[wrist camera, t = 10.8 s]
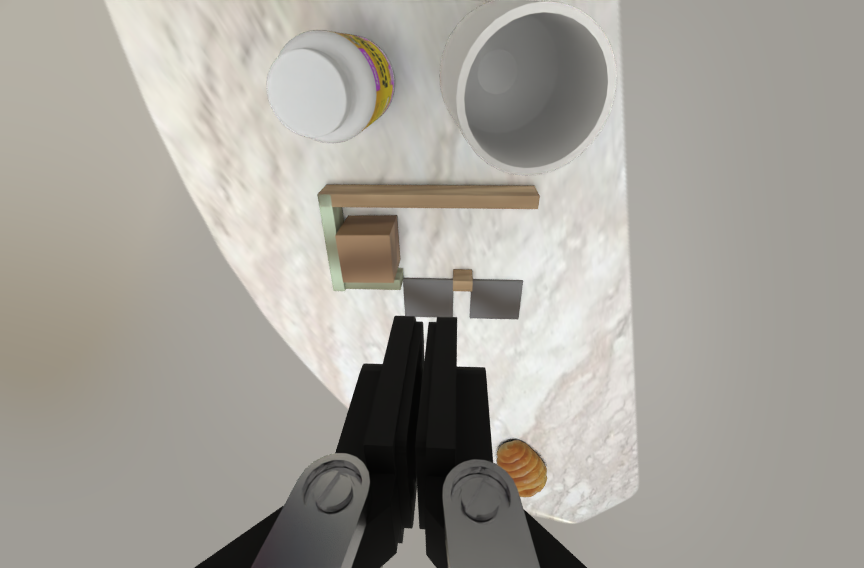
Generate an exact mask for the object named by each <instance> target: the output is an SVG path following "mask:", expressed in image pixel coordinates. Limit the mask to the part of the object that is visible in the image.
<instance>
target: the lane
mask: <svg viewBox="0 0 864 568" xmlns="http://www.w3.org/2000/svg"><path fill="white" fill-rule="evenodd" d="M317 195H318V201H319V207H320V213H321V219H322V225H323V231H324V237H325V243H326V249H327V255H328V261H329V267H330V273H331V279H332V285H333V291H345V290H346V289H382V290H401V286H402V282H403V287H404V304H405V316H415V317H453V291H471V304H470V318H486V319H518V318H519V309H520V301H521V293H522V285H523V280H482V279H473V278H472V270H462V269H453V279H432V278H403V268H398V270H397V273H396V277H395V280H394V283H343V279H342V273H341V267H340V261H339V256H338V250H337V244H336V238H335V235H336V233H337V232H338V230H339V229H340V227H341V226H342V224H343V223H344V218H343V210H342V207H381V208H487V209H538V205H539V198H540V196H539V194H538V192H537V190H536V188H535V186H495V185H326V186H325V187H324V188H323V189H322V190H321V191H320V192H319V193H318V194H317Z"/></svg>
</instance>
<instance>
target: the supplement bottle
mask: <svg viewBox="0 0 864 568" xmlns="http://www.w3.org/2000/svg"><path fill="white" fill-rule="evenodd" d="M393 93H394V74H393V70H392V67H391V64H390V62H389V60H388V58H387V56H386V55H385V54H384V52H383V51H382V50H381V49H380V48H379V47H378V46H377V45H376V44H375V43H373V42H372V41H370V40H368V39H366V38H363V37H360V36H356V35H350V34H343V33H337V32H331V31H324V30H313V31H307V32H304V33H301V34H299V35H297V36H295V37H294V38H293V39H291V40H290V41H289V42H288V43H287V44H286V45H285V46H284V48H283V49H282V50H281V52H280V54H279V56H278V58H276V60H275V61H274V62H273V64H272V66H271V68H270V70H269V73H268V76H267V95H268V99H269V103H270V105H271V108H272V110H273V112H274V113H275V115H276V116H277V118H278V119H279V120H280V122H281V123H282V124H283V125H284V126H286V127H287V128H288V129H289V130H291V131H292V132H294V133H296V134H298V135H301V136H304V137H309V138H311V139H313V140H316V141H319V142H324V143H339V142H344V141H347V140H349V139H351V138H353V137H355V136H356V135H358V134H359V133H360V132H362V131H363V130H364V129H365V128H367V127H368V126H369V125H370V124H372V123H373V122H374V121H375V120H377V119H378V118H379V117H380V116H381V115H382V114H383V113H384V112H385V111H386V110H387V108H388V107H389V105H390V103H391V100H392V97H393Z"/></svg>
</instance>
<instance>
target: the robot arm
mask: <svg viewBox="0 0 864 568" xmlns="http://www.w3.org/2000/svg"><path fill="white" fill-rule="evenodd" d="M416 490H417V492H418V509H419V527H420V529H425V534H426V555H427V556H428V557H429V558H430V560H431V561H432V563H433V564H434V565H435V566H436V567H437V568H587V567H586V566H585V565H584V564H583V563H581V562H580V561H579V560H578V559H577V558H576V557H575V556H574V555H573V554H572V553H571V552H570V551H568V550H567V549H566V548H565V547H564V546H563V545H562V544H561V543H560V542H559V541H558V540H557V539H555V538H554V537H553V536H552V535H551V534H550V533H549V532H548V531H547V530H546V529H545V528H543V527H542V526H541V525H540V524H539V523H538V522H537V521H536V520H535V519H534V518H533V517H532V516H531V515H529V514H528V513H527V512H526V511H525V510H524V509H523V506H522V503H521V499H520V496H519V492H518V489H517V487H516V485H515V483H514V480H513V479H512V478H511V476H510V475H509V474H508V473H507V472H506V471H505V470H504V469H503V468H501V467H500V466H498V465H497V464H495V463H493V455H492V443H491V430H490V417H489V405H488V392H487V379H486V369H485V368H484V367H457V317H437V322H429V325H428V334H427V343H426V352H425V361H424V334H423V322H416V318H415V316H395V317H394V320H393V324H392V328H391V332H390V337H389V341H388V345H387V349H386V353H385V357H384V361H383V364H363V366H362V368H361V371H360V374H359V377H358V381H357V384H356V387H355V390H354V394H353V397H352V400H351V403H350V407H349V410H348V413H347V417H346V420H345V423H344V426H343V430H342V433H341V436H340V439H339V443H338V446H337V449H336V452H335V454H330V455H326V456H324V457H322V458H320V459H318V460H316V461H314V462H313V463H312V464H311V465H310V466H308V467H307V468H306V469H305V470H304V472H303V473H302V474H301V476H300V477H299V479H298V480H297V482H296V484H295V486H294V488H293V490H292V492H291V493H290V495H289V497H288V499H287V501H286V503H285V505H284V506H282V507H281V508H279V509H278V510H276V511H275V512H274V513H272V514H271V515H270V516H268V517H266V518H265V519H264V520H262V521H261V522H259V523H258V524H257V525H255V526H253V527H252V528H251V529H249V530H248V531H246V532H245V533H244V534H242V535H241V536H239V537H238V538H236V539H235V540H233V541H232V542H230V543H229V544H228V545H226V546H225V547H223V548H222V549H220V550H219V551H218V552H216V553H215V554H214V555H212V556H210V557H209V558H207V559H206V560H205V561H203V562H202V563H200V564H199V565H198V566H196V567H195V568H382V567H383V565H384V564H385V563H386V562H387V561H388V560H389V559H390V558H391V557H392V556H394V555H395V554H396V553H397V545H398V543H402V542H403V534H404V528H412V527H413V521H414V510H415V501H416Z"/></svg>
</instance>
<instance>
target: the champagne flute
mask: <svg viewBox="0 0 864 568" xmlns="http://www.w3.org/2000/svg"><path fill="white" fill-rule="evenodd" d="M616 84H617V73H616V61H615V58H614V54H613V50H612V47H611V44H610V42H609V41H608V39H607V37H606V35H605V33H604V31H603V30H602V29H601V28H600V26H599V25H598V24H597V23H596V22H595V21H594V20H593V19H592V18H591V17H590V16H588V15H587V14H585V13H584V12H583V11H581V10H580V9H578V8H575V7H573V6H570V5H567V4H564V3H559V2H549V1H536V0H494V1H491V2H488V3H486V4H483V5H481V6H479V7H478V8H476V9H475V10H473V11H471V12H470V13H469V14H468V15H467V16H466V17H465V18H463V19H462V20H461V21H460V22H459V23H458V25H457V26H456V28H455V29H454V31H453V32H452V34H451V35H450V37H449V39H448V41H447V44H446V46H445V48H444V51H443V55H442V59H441V65H440V87H441V92H442V96H443V99H444V103H445V105H446V107H447V109H448V111H449V113H450V114H451V116H452V118H453V119H454V121H455V123H456V124H457V126H458V128H459V129H460V131H461V132H462V134H463V136H464V137H465V139H466V141H467V142H468V144H469V145H470V146H471V148H472V149H473V150H474V152H475V153H476V154H477V155H478V156H479V157H480V158H481V159H483V160H484V161H485V162H486V163H487V164H489V165H491V166H493V167H494V168H496V169H498V170H500V171H504V172H507V173H510V174H515V175H525V176H527V175H538V174H543V173H546V172H550V171H554V170H556V169H558V168H560V167H562V166H564V165H566V164H568V163H570V162H571V161H572V160H574V159H575V158H577V157H578V156H579V155H581V154H582V153H583V152H584V151H585V150H586V149H587V148H588V147H589V146H590V145H591V144H592V143H593V141H594V140H595V139H596V137H597V136H598V134H599V133H600V132H601V130H602V129H603V127H604V125H605V123H606V121H607V119H608V117H609V115H610V112H611V108H612V105H613V102H614V98H615V92H616Z"/></svg>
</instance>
